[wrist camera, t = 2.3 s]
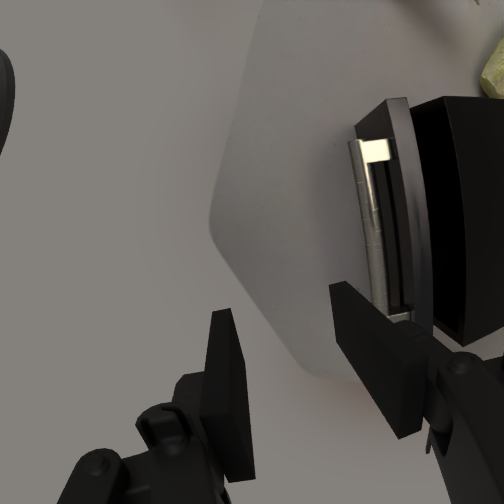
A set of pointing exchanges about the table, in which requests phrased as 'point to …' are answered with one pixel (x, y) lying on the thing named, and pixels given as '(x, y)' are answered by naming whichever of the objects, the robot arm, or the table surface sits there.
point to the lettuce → (494, 73)
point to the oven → (464, 211)
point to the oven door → (394, 213)
